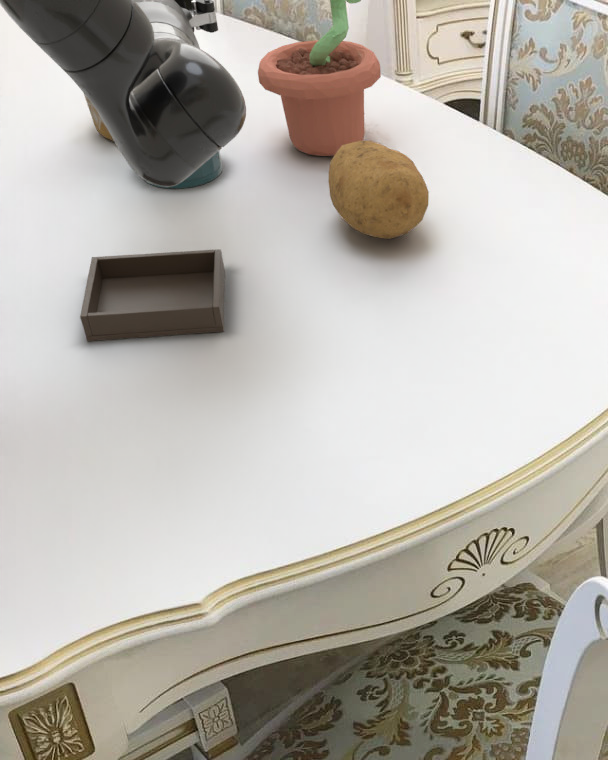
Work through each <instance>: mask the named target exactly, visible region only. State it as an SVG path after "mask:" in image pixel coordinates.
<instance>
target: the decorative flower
mask: <svg viewBox="0 0 608 760" xmlns="http://www.w3.org/2000/svg"><path fill="white" fill-rule="evenodd" d="M361 1H362V0H329V3H330V4H329V5H330V11H331V21H332V22H331V23H332V26H331V27H330V29H329V30H327V32H326V33H324V35H323V36H321V38H319V39H316V40H305V41H297V42H292V43H289V44H283V45H280V46H279V47H277V48H274V49H272V50H271V51H268V52H267V53H266V54H265V55H264V56H263V57H262V58H261V59H260V61H259V63H258V69H257V76H258V83H259V84H260V85H261V86H262V88H264V90H265V91H267V92H270V93H273V94H276V95H278V96H280V100H281V103H282V108H283V112H284V117H285V121H286V122H285V123H286V127H287V130H288V136H289V139H290V142H291V143H292V145H293V147H294V148H295V149H296V150H298V151H300V152H302V153H304V154H306V155H308V156H309V155H311V156H322V157H332V156H333V157H334V155H335V154H336V152H337V151H338V150H339V149H340V147H341V146H342V145H345V144H349V143H352V142H356V141H364V137H365V134H366V133H365V132H366V131H365V130H366V129H365V90H366V89H369V88H371V87H373V85H375V84H376V83H377V82H378V80H380V78H382V77H381V64H380V61H379V59H378V57H377V56H376V53H375V52H374V51H373V50H371V49H369V48H368V47H366V46H364V45H363V44H360V43H356V42H353V41H348V40H345V39H346V38H347V35H348V32H349V29H350V27H349V19H348V9H347V3H348V4H351V5H352V4H353V5H354V4H358V3H360V2H361ZM346 2H347V3H346Z"/></svg>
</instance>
